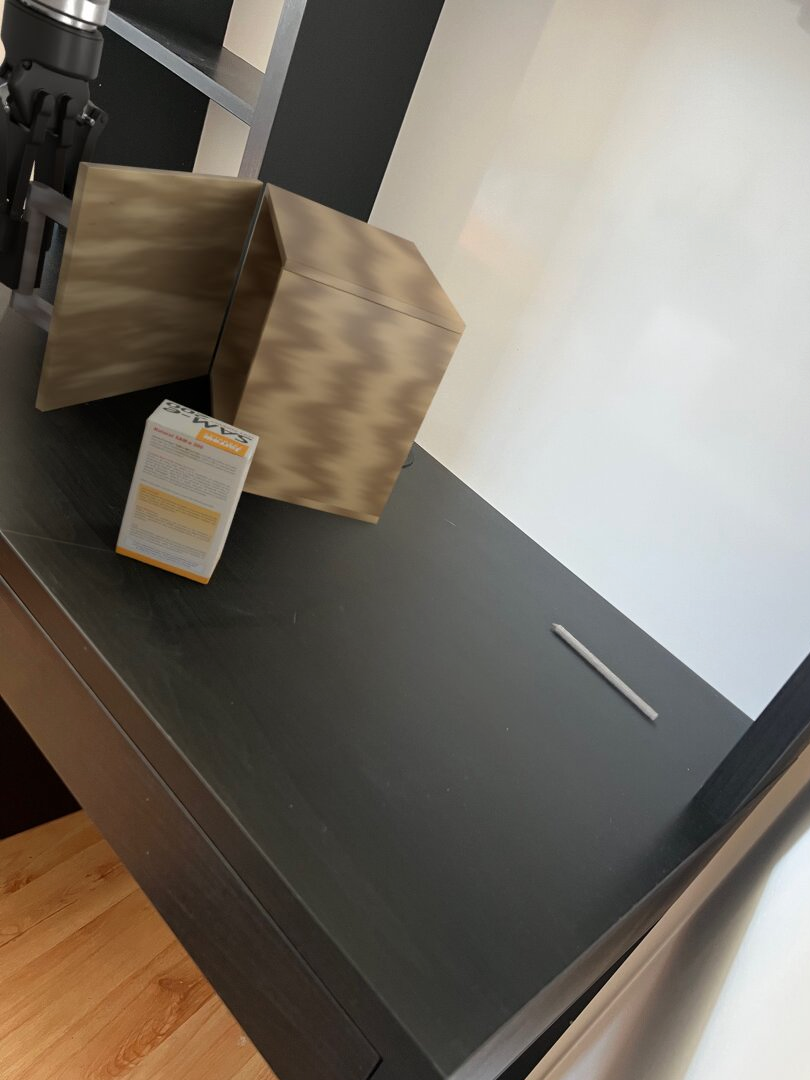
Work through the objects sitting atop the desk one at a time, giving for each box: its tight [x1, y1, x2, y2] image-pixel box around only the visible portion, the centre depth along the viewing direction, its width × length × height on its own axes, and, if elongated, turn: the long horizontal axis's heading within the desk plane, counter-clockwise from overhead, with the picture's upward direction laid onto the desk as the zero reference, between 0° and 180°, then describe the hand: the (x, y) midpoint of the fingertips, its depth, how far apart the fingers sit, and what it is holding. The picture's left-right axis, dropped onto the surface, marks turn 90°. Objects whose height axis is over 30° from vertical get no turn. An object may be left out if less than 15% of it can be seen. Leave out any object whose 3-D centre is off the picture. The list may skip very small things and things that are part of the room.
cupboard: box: [209, 182, 467, 525], centre depth 94 cm, size 18×26×24 cm
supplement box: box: [115, 399, 259, 585], centre depth 71 cm, size 8×5×13 cm, turn 88°
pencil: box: [552, 622, 659, 721], centre depth 89 cm, size 1×1×15 cm
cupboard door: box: [9, 162, 264, 413], centre depth 89 cm, size 8×26×24 cm, turn 155°
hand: (15, 281), depth 82 cm, fingers closed on cupboard door, 2 cm apart
